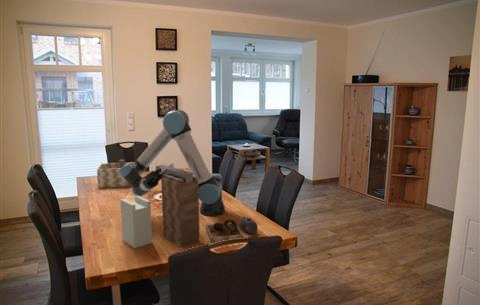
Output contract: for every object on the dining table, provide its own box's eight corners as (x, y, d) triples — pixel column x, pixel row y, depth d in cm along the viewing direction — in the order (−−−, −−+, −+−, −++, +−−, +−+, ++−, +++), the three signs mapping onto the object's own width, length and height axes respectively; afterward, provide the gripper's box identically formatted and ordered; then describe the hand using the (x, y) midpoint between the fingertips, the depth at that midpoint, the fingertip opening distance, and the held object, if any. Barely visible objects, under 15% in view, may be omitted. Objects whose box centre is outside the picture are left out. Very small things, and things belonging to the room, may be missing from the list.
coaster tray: (235, 228, 185) (235, 222, 184) (243, 241, 169) (243, 235, 168) (206, 230, 181) (206, 225, 181) (211, 244, 165) (211, 238, 164)
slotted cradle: (122, 240, 169) (120, 199, 166) (139, 235, 175) (137, 195, 172) (134, 248, 161) (132, 205, 157) (152, 242, 167) (150, 201, 163)
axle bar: (156, 173, 178) (155, 165, 177) (163, 172, 180) (162, 164, 180) (185, 182, 159) (185, 174, 158) (192, 181, 162) (192, 172, 161)
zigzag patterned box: (135, 178, 292) (135, 162, 289) (134, 185, 270) (133, 167, 267) (102, 180, 286) (101, 163, 283) (98, 187, 264) (97, 169, 261)
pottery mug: (233, 229, 184) (238, 219, 179) (234, 244, 176) (239, 233, 172) (211, 225, 181) (215, 214, 177) (210, 240, 174) (215, 229, 169)
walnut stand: (163, 237, 173) (161, 174, 168) (180, 231, 180) (178, 171, 175) (182, 247, 162) (180, 180, 157) (199, 241, 169) (198, 177, 163)
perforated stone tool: (237, 226, 187) (237, 213, 186) (246, 224, 189) (246, 212, 188) (248, 236, 174) (248, 223, 173) (258, 235, 176) (258, 221, 175)
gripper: (165, 185, 193) (185, 171, 177) (136, 191, 181) (155, 176, 165) (161, 173, 195) (181, 157, 178) (132, 178, 183) (151, 161, 167)
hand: (169, 166), depth 172 cm, fingers closed on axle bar, 4 cm apart
